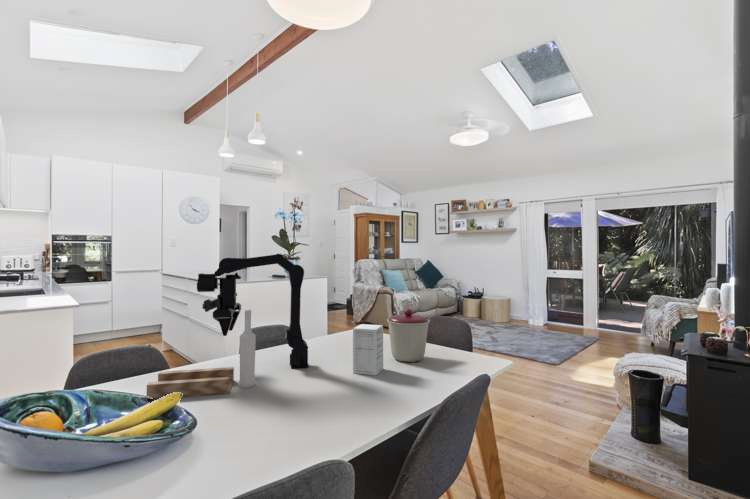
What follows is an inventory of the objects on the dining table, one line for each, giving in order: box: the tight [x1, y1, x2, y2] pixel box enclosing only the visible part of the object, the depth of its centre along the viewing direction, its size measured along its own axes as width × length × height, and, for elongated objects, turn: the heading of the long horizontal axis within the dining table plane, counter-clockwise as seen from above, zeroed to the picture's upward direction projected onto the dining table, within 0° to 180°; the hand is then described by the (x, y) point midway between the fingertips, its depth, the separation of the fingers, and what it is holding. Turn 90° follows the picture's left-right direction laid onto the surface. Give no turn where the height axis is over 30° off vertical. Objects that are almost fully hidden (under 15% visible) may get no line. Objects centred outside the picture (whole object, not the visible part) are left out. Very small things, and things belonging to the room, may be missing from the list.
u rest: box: [146, 366, 235, 401], centre depth 120 cm, size 23×13×4 cm, turn 104°
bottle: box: [238, 309, 257, 389], centre depth 124 cm, size 5×5×25 cm
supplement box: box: [352, 323, 384, 376], centre depth 141 cm, size 10×9×17 cm
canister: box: [386, 308, 431, 363], centre depth 157 cm, size 18×18×21 cm
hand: (227, 333), depth 139 cm, fingers open, 9 cm apart
